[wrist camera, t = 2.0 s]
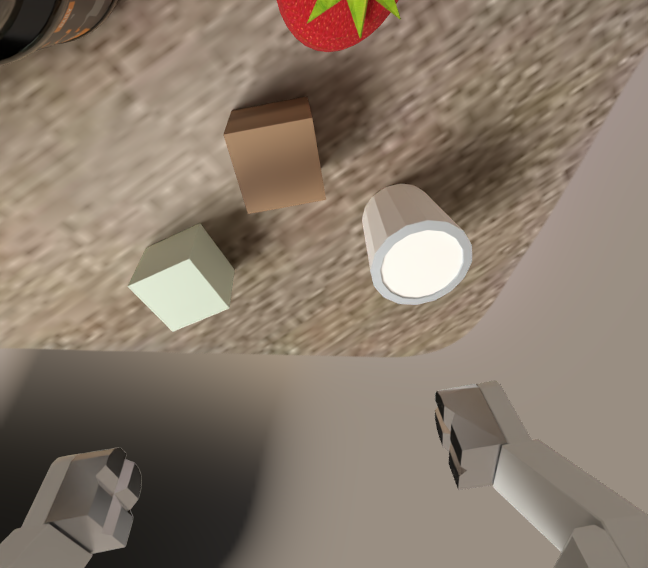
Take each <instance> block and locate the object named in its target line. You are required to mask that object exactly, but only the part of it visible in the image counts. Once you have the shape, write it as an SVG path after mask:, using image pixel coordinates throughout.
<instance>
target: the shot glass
mask: <svg viewBox="0 0 648 568" xmlns="http://www.w3.org/2000/svg"><path fill="white" fill-rule="evenodd" d="M362 222H363V228H364V234H365V240H366V246H367V252H368V258H369V264H370V271H371V275H372V280H373V285H374V287H375V288H376V289H377V290H378V291H379V292H380V294H381V295H382V296H383V297H384V298H387V299H389V300H391V301H393V302H396V303H398V304H412V305H417V304H421V303H426V302H430V301H434V300H436V299H438V298H440V297H441V296H443V295H445V294H447V293H449V292H450V291H452V290H453V289H454V288H455V287H456V286H457V285H458V284H459V283H460V282H461V281H462V279H463V278H464V277H465V275H466V273H467V271H468V269H469V267H470V264H471V262H472V245H471V243H470V241H469V239H468V238H467V236H466V234H465V233H464V231H463V230H462V229H461V228H460V227H459V226H458V225H457V224H456V223H455V222H454V221H453V220H452V219H451V218H450V217H449V216H448V215H447V214H446V213H445V212H444V211H443V210H442V209H441V208H440V207H439V206H438V205H437V204H436V203H435V202H434V201H433V200H432V199H431V198H430V197H429V196H428V195H427V194H426V193H425V192H424V191H423V190H421V189H419V188H418V187H416V186H414V185H409V184H400V183H399V184H395V185H392V186H388V187H385V188H383V189H382V190H381V191H379V192H378V193H376V194H375V195H373V197H372V198H371V199H370V201H369V202H368V204H367V205H366V206H365V209H364V214H363V218H362Z"/></svg>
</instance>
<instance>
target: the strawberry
mask: <svg viewBox="0 0 648 568" xmlns="http://www.w3.org/2000/svg"><path fill="white" fill-rule="evenodd" d="M397 2H398V0H277V3H278V7H279V10H280V13H281V15H282V17H283V19H284V22H285V24H286V26H287V27H288V29H289V30H290V31H291V33H292V34H293V35H294V36H295V38H296V39H298V40H299V41H300V42H301V43H303V44H304V45H305V46H307V47H310V48H312V49H314V50H317V51H324V52H333V51H340V50H343V49H346V48H348V47H351V46H354V45H355V44H357V43H359V42H360V41H362V40H363V39H365V38H367V37H368V36H369V35H371V34H372V33H373V32H374V31H375V30H376V29H377V28H378V27H379V26H380V25H381V24H382V23H383V22H384V20H385V19H386V18H387V17H388V15H389V14H390V13H393V14H394V15H395V16H396V17H398V18H399V19H400V20H401V18H400V15H399V12H398V9H397V6H396V3H397Z"/></svg>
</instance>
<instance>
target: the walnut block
mask: <svg viewBox="0 0 648 568" xmlns="http://www.w3.org/2000/svg"><path fill="white" fill-rule="evenodd" d="M224 138H225V141H226V144H227V148H228V151H229V154H230V157H231V161H232V164H233V167H234V170H235V174H236V177H237V180H238V183H239V187H240V190H241V193H242V196H243V199H244V203H245V206H246V209H247V212H248V214H251V213H257V212H262V211H268V210H273V209H278V208H284V207H289V206H294V205H300V204H305V203H311V202H316V201H321V200H326V197H325V191H324V185H323V179H322V173H321V167H320V161H319V155H318V149H317V143H316V137H315V131H314V125H313V119H312V115H311V110H310V106H309V102H308V98H307V96H306V97H301V98H296V99H291V100H285V101H280V102H275V103H270V104H265V105H259V106H254V107H249V108H244V109H239V110H233V111H231V114H230V117H229V120H228V123H227V126H226V129H225V132H224Z"/></svg>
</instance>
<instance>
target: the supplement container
mask: <svg viewBox="0 0 648 568" xmlns="http://www.w3.org/2000/svg"><path fill="white" fill-rule="evenodd" d="M117 1H118V0H0V66H2V65H6V64H9V63H12V62H15V61H17V60H20V59H22V58H24V57H26V56H28V55H29V54H31V53H33V52H34V51H37V50H40V49H43V48H46V47H49V46H52V45H55V44H62V43H66V42H71V41H74V40H77V39H79V38H82V37H84V36H86V35H88V34H89V33H91V32H93V31H94V30H95V29H97V28H98V27H99V26H100V25H101V24H102V23H103V22H104V21H105V20H106V19H107V18H108V16H109V15H110V14H111V12H112V11H113V9H114V7H115V5H116V3H117Z"/></svg>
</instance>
